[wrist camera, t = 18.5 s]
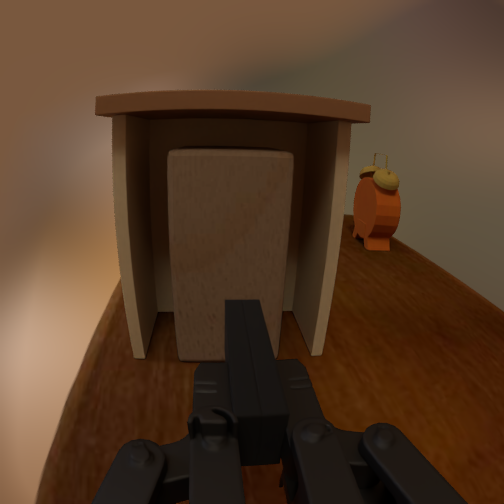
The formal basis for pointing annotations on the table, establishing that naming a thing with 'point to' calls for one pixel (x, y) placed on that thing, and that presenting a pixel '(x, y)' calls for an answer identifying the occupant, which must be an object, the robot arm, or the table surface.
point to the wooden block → (226, 240)
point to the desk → (229, 134)
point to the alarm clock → (376, 207)
